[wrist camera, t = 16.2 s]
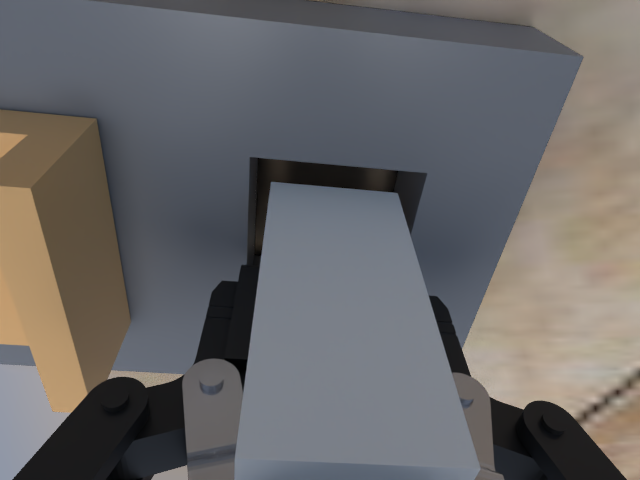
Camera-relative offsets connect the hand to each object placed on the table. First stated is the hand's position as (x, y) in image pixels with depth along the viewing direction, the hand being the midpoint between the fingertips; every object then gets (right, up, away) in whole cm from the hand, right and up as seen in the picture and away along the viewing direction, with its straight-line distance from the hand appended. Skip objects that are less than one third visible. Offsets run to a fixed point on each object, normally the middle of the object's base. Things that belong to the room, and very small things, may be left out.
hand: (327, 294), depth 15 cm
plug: (0, +1, +2) cm, 2 cm away
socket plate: (-4, +4, +4) cm, 7 cm away
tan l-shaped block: (-11, +2, +1) cm, 11 cm away
